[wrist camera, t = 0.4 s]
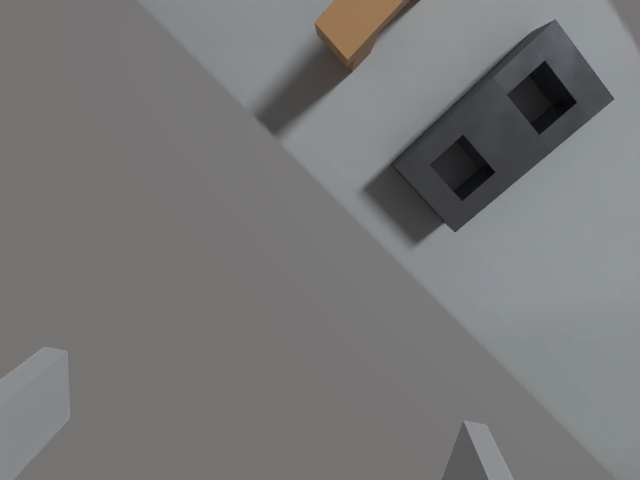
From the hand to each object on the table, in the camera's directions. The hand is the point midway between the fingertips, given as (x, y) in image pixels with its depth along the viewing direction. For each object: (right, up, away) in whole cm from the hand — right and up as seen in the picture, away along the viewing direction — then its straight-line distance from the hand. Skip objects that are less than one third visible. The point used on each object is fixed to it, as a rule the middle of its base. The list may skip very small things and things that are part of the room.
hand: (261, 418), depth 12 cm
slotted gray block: (+17, +16, +22) cm, 32 cm away
